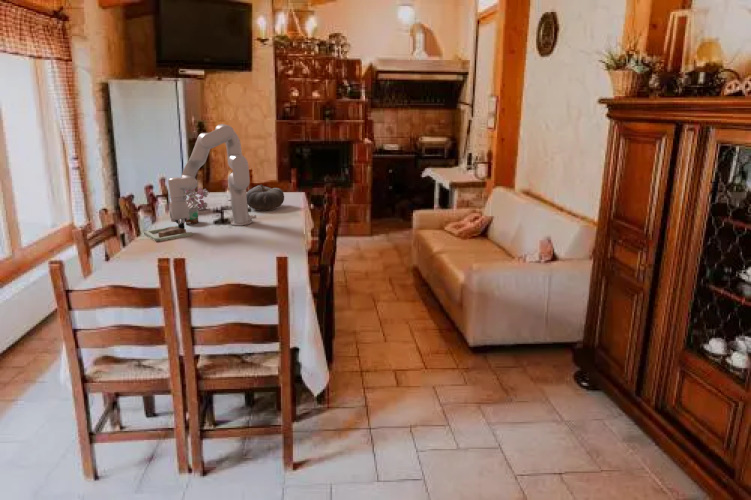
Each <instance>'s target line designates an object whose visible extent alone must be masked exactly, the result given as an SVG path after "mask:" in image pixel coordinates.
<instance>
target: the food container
mask: <svg viewBox="0 0 751 500" xmlns="http://www.w3.org/2000/svg"><path fill="white" fill-rule="evenodd" d="M199 208H200V207H198V206H197V204H196V205H192V206H191V207H190V208H188V209H189V217H190V219H188V220H186V222H185V224H186V225H187V226H189V225H196V224H198V223H199V210H200V209H199Z"/></svg>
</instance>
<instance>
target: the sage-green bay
mask: <svg viewBox="0 0 751 500" xmlns="http://www.w3.org/2000/svg"><path fill="white" fill-rule="evenodd" d="M168 227H169V226H167V227H161V228H155V229H154V228H153V229H149V230H144V231H143V234H144V235H145V234H146V235H147V236H146V235H145V236H146V237H148V236H149V237H151V238H152V239H154V240H155V241H160V242H164V241H163V240H165V241H169V240H168V239H171V240H175V238H176V239H181V238H185V237H186V236H187V237H190V236H193V232H192V231H189V232H186V233H183V234H177V235H172V236H166V237H161V238H160V237H159V236H156V235H154V234H157V233H156V232H160V231H164V230H166V228H168ZM171 227H177V228H179V227H178V224H177V225H173V226H171ZM151 233H152V234H151ZM149 237H148V238H149ZM180 237H181V238H180ZM151 238H150V239H151ZM152 239H151V240H152ZM154 240H153V241H154ZM155 241H154V242H155Z"/></svg>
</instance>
